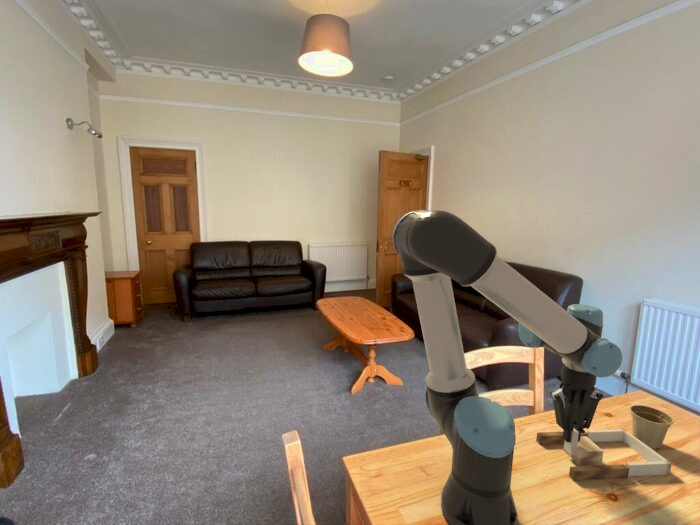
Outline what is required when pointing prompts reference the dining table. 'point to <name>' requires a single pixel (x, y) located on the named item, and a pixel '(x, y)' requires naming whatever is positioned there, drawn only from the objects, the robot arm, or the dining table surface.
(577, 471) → the slot rails
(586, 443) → the beige square block
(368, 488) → the dining table surface
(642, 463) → the corral
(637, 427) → the flower pot
